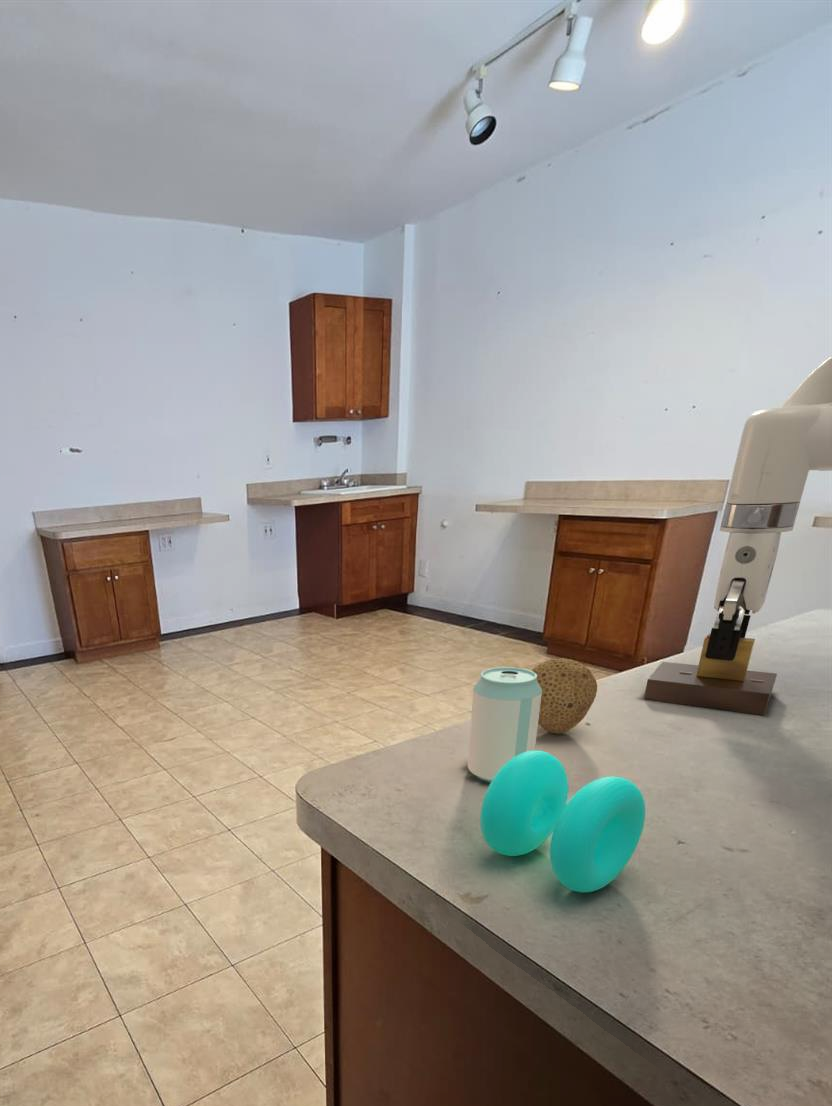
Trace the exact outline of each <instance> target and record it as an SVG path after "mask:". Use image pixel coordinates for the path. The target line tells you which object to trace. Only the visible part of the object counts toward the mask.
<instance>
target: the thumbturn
mask: <svg viewBox="0 0 832 1106" xmlns="http://www.w3.org/2000/svg"><path fill="white" fill-rule="evenodd" d="M710 634H711V633H708V634H706V636H705V637H704V639H703V644H702V648H701V653H700V657H699V662H698V664H697V665H698V670H697V674H696V676H701V677H710V678H719V679H728V680H737V681H744V679H745V676H746V672H747V670H748V669H749V665H750V660H751V658H752V657H751V656H752V652H753V649H754V645H755V641H756V638H749V637H745V638H740V640H739V643H738V647H737V651H736V655H735V658H734V660H732V661H727V660H718V659H708V658H706V657H705V654H706V650H707V646H708V642H709V638H710Z"/></svg>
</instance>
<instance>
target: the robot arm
mask: <svg viewBox="0 0 832 1106" xmlns="http://www.w3.org/2000/svg"><path fill="white" fill-rule="evenodd" d="M809 471H820V472H825V471H827V472H828V471H831V472H832V356H829V358H828V359H826V360H824V361H823V362H822V363H821V364H820V365H818V367H816V368H815V369H814V370H813V371H812V372H810V373H809V375H808V376H807V377H806V378H805V379H804V380H803V381H802V382H801V383H800V384H799V385H798V386H797V387H796V389H794V391H793V392H791V394H790V395H789V397H788V398H787V399H786V400H785V401H784V402H783V404H782V405H781V406H780V407H772V408H765V409H761V410H757V411H755V412H753V413H752V414H751V415H750V416H749V417H748V418H747V419H746V421H745V423H744V425H743V429H742V433H741V437H740V441H739V445H738V449H737V454H736V459H735V463H734V467H733V471H732V475H731V479H730V484H729V487H728V493H727V498H726V501H725V506H724V510H723V515H722V518H721V523H720V527H719V531H720V532H724V533H729V535H728V539H727V543H726V547H725V551H724V555H723V560H722V564H721V568H720V573H719V577H718V583H717V587H716V593H715V599H714V604H713V605H714V606H713V608H714V609H715V610H716V612H717V615H716V618H715V620H714V624H713V627H711V631H710V633H709V634H710V638H709V642H708V646H707V650H706V654H705V657H706V658H708V659H718V660H727V661H732V660H734V658H735V655H736V651H737V647H738V643H739V640H740V638H746V635H747V631H748V627H749V624H750V620H751V615H750V612H751V614H752V615H753V614H757V613H759V612H760V611H761V609H762V608H763V606H764V604H765V601H766V597H767V593H768V589H769V585H770V582H771V578H772V574H773V571H774V568H775V563H776V561H777V556H778V551H779V547H780V543H781V536H782V533H786V532H791V531H793V530H794V526H795V523H796V518H797V515H798V511H799V508H800V506H801V505H800V504H801V500H802V497H803V493H804V489H805V487H806V482H807V478H808V477H809V476H808V475H809Z"/></svg>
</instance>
